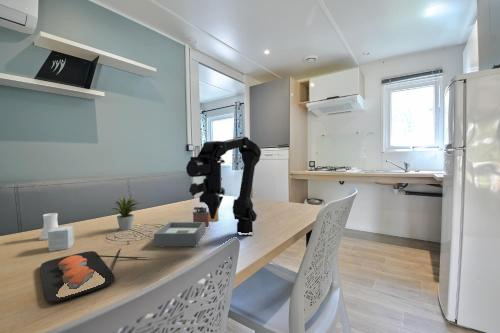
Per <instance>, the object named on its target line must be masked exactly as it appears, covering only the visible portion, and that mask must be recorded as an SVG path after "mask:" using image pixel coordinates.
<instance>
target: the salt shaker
mask: <svg viewBox="0 0 500 333" xmlns="http://www.w3.org/2000/svg"><path fill="white" fill-rule="evenodd" d="M58 216H59V215H58V212H51V213H50V212H49V213H45V214H42V218H43V228H42V231H41V234H40V236H39V237H38V238H39V240H40V241H48V232H49V231H50V230H52V229H53V228H54V227H59V222H58Z"/></svg>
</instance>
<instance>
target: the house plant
mask: <svg viewBox="0 0 500 333" xmlns="http://www.w3.org/2000/svg"><path fill="white" fill-rule="evenodd" d="M132 196H133V195H131V196H129V198H128V199H127V201H126V198H125V195H124V194H123V196H122V198H121V199H119V198H118V200H119V201H117V200H115V199H114V200H113V202H112V203H113V204H116V205H117V206H118V208H119V209H118V208H116V207H112V208H111V210H115V214H116V215H117V214H118V213H119V214H120V215H118V216H116V220H117V224H118V227H119V230H120V231H129V230H132V229H133V224H134V223H133V222H134V216H135V215H134V214H132V212H133V211H134V212H136V210H137V209H140V206H139V204H142V203H143V202H142V201H140V202H137V201H139V199H138V198H137V197H134V198H132ZM131 198H132V199H131ZM141 199H142V198H140V200H141ZM135 205H137V206H136V207H135Z"/></svg>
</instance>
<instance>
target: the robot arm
mask: <svg viewBox="0 0 500 333" xmlns="http://www.w3.org/2000/svg"><path fill="white" fill-rule="evenodd" d="M236 149H238V152H239V153H240V154H241V160H242V163H243V170H242V175H241V176H242V177H241V182H240V189H239V196H238V197H237V198H235V199H233V202H232V204H233V206H232V208H231V209H232V214H233V218H234V220H237V223H236V233H237V232H241V233H249V232H253V233H254V229H253V224H254V223H253V222H256V220H257V216H258V214H257V213H256V212H255V211H254V204H253V201H252V198H251V197H252V196H251V195H252V190H253V189H252V188H253V183H254V175H255V169H256V168H255V167H256V166H257V164H258V163H259V162H260V158H261V155H262V150H261V148H260V147H259V145H258V144H257V143H255V142H253V141H252V140H250V139H249V137H248V136H238V137H235V138H231V139H227V140H213V141H212V140H211V141H204V142H203V144H202V148H201V149H200V151H199V152H198V155H197V156H190V157H189V158H190V159H189V161H188V163H187V164H186V166H185V172H186V173H187V175H188V176H189V177H191V178H198V177H199V178H200V177H205V178H203V182H201V183H196V182H194V183H191V184H190V186H189V188H188V189H189V190H188V191H189V193H190V194H191V196H192V197H193V196H195V195H198V194H199V193H200V194H201V195H199V197H198V198H199V199H198V202H199V203H204V204H205V205H206V206H207V208H208V209H207V210H208V212H209V213H210V217H211V219H214V218H215V215H216V212H217V209H218V210H220V206H221V204H222V202H223V199H224V195H226V190H225V188H224V187H222V181H223V177H222V164H225V159H223V158H222V156H224V155H226V153H227V152H228V151H231V150H236ZM220 195H222V196H220Z"/></svg>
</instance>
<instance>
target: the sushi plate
mask: <svg viewBox="0 0 500 333" xmlns="http://www.w3.org/2000/svg"><path fill="white" fill-rule="evenodd" d="M119 249H120V248H119ZM119 249H118V252H117V255H102V254H101V255H100V254H98V252H96V251H95V250H94V251H93V250H90V251H89V250H88V251H83V252H79V253H74V254H70V255H65V256H61V257H58V258H53V259H49V260H46V261H44V262H43V263H40V264H41V265H40V267H39V268H40V276H41V282H42V288H43V295H44V298H45V300H46V302H49V303H56V302H61V301H65V300H68V299H71V298H75V297H77V296H80V295H83V294H86V293H90V292H92V291H96V290H99V289H101V288H104V287H105V286H108V285H110V284H113V283H114V282H115V280H116V277H115V275H114V273H113V271H114V267H115V266H116V263H117V261H118V258H119V259H133V260H138V259H137V258H148V257H147V256H145V257H143V256H120V254H121V251H122V248H121V249H120V250H121V251H120V250H119ZM119 253H120V254H119ZM102 258H115V259H114V262H113V265H112V267H111V269H110V267H109V266H108V265H107V263H106V262H105V261H104V260H103V259H102ZM95 271H96V272H97V273H99V275H101V276H102V277H103V278H105V282H104V283H103V284H101V285H98V286H96V287H93V288H90V289H87V290H84V291H81V292H78V293H75V294H71V295H68V296H65V297H60V298H59V297H57V296H56V294H58V291H59V289H60V288H61V287H62V286H63V285H64V283H65V284H66V283H68V284H67V286H68V287H69V289H77V288H79V287H80V286H81V285H83V284H84V283H85V282H87V281H88V280H89V279H90V278H92V277H93V274H94V272H95Z"/></svg>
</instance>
